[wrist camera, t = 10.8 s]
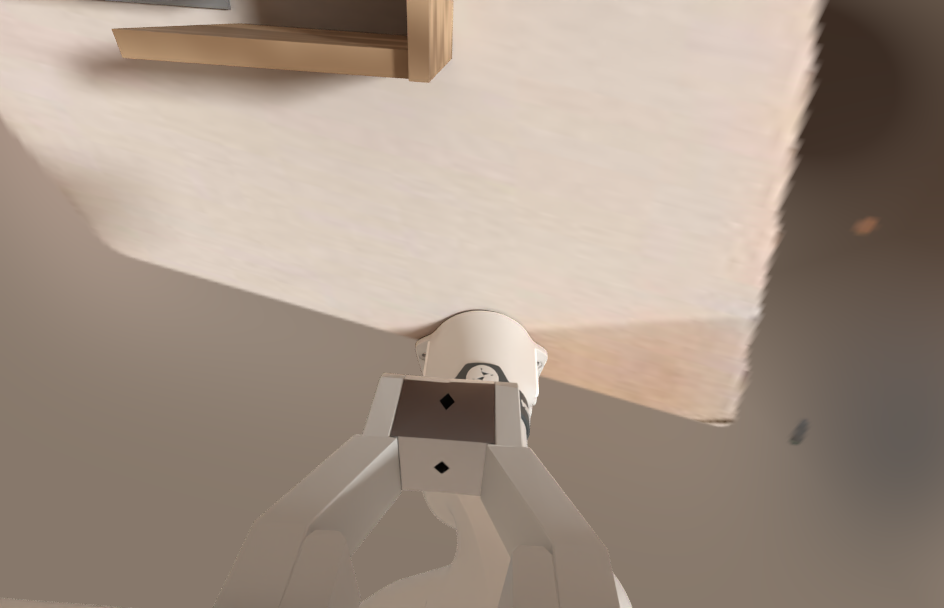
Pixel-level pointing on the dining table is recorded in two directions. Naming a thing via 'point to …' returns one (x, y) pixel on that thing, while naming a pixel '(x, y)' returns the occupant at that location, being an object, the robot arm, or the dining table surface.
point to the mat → (186, 3)
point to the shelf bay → (306, 45)
